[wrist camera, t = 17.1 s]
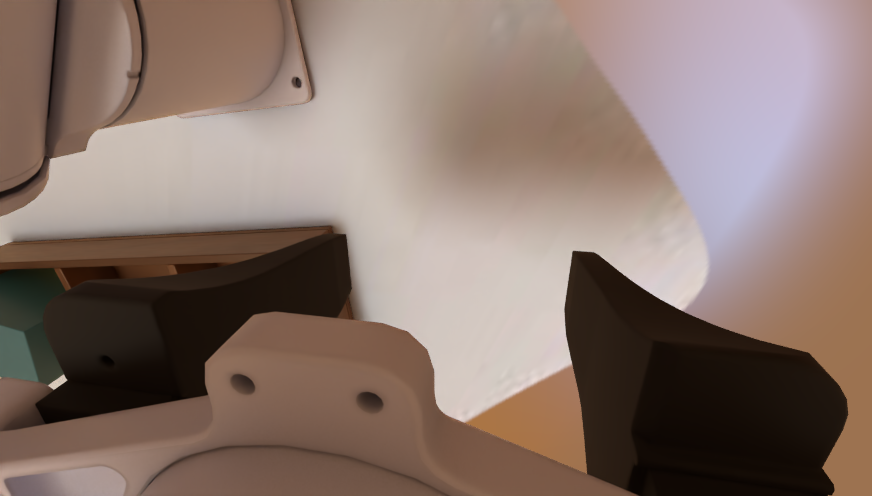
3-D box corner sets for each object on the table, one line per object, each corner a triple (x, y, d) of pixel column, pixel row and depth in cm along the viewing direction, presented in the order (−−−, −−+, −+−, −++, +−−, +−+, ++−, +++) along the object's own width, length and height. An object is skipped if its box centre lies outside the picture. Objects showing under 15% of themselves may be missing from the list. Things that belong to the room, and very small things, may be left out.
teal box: (31, 260, 29) (-70, 303, 24) (110, 283, 29) (23, 332, 24) (46, 312, 31) (-45, 363, 26) (119, 335, 31) (41, 390, 26)
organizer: (10, 242, 30) (-50, 264, 27) (331, 225, 24) (303, 251, 21) (67, 341, 33) (19, 371, 30) (360, 346, 28) (339, 383, 25)
